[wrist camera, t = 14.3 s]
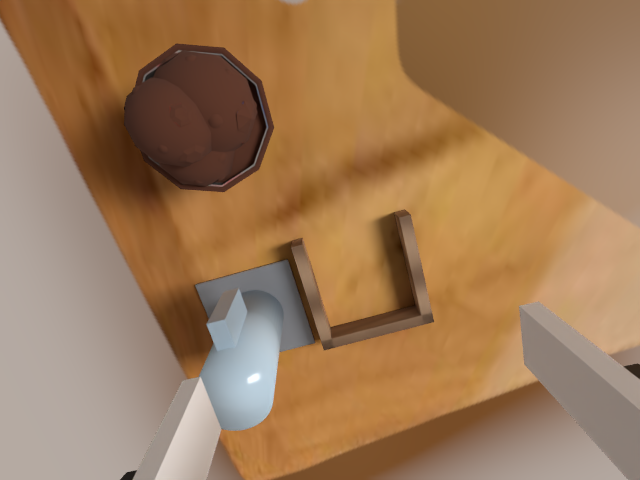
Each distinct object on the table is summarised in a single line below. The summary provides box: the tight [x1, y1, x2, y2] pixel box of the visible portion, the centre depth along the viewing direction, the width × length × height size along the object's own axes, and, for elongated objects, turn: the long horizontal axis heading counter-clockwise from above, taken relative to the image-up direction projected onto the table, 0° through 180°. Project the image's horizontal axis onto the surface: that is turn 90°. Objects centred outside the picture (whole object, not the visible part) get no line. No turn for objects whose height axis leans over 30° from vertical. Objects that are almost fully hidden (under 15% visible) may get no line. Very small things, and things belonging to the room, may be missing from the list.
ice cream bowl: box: [124, 44, 274, 192], centre depth 30 cm, size 11×11×15 cm
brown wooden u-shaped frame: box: [291, 210, 434, 350], centre depth 41 cm, size 13×13×2 cm
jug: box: [199, 288, 284, 431], centre depth 36 cm, size 6×9×14 cm
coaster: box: [195, 259, 315, 352], centre depth 43 cm, size 11×11×1 cm
